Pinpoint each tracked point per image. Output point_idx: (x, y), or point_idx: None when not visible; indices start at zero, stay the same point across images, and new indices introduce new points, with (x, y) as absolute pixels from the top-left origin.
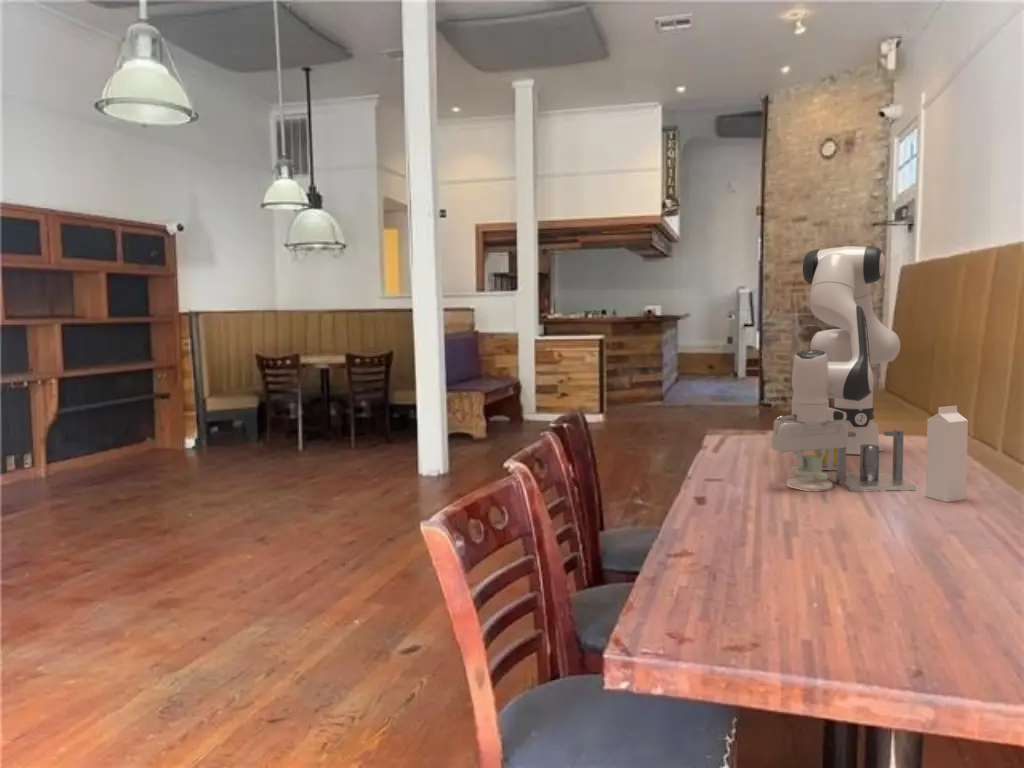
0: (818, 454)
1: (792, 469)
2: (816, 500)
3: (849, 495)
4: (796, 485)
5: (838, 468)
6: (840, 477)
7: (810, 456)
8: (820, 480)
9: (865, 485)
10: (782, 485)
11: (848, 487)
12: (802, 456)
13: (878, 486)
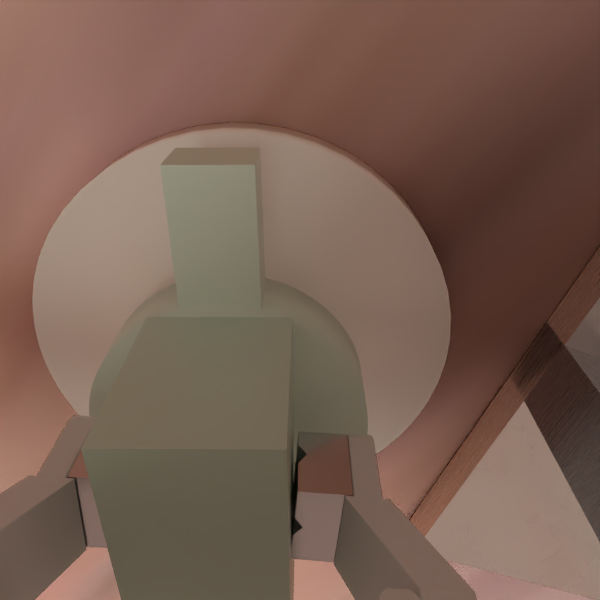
0: (388, 580)
1: (169, 157)
2: (60, 580)
3: (323, 572)
4: (61, 387)
5: (585, 465)
6: (542, 424)
7: (206, 584)
8: (380, 338)
9: (537, 560)
10: (35, 184)
11: (427, 517)
12: (103, 529)
13: (586, 594)
